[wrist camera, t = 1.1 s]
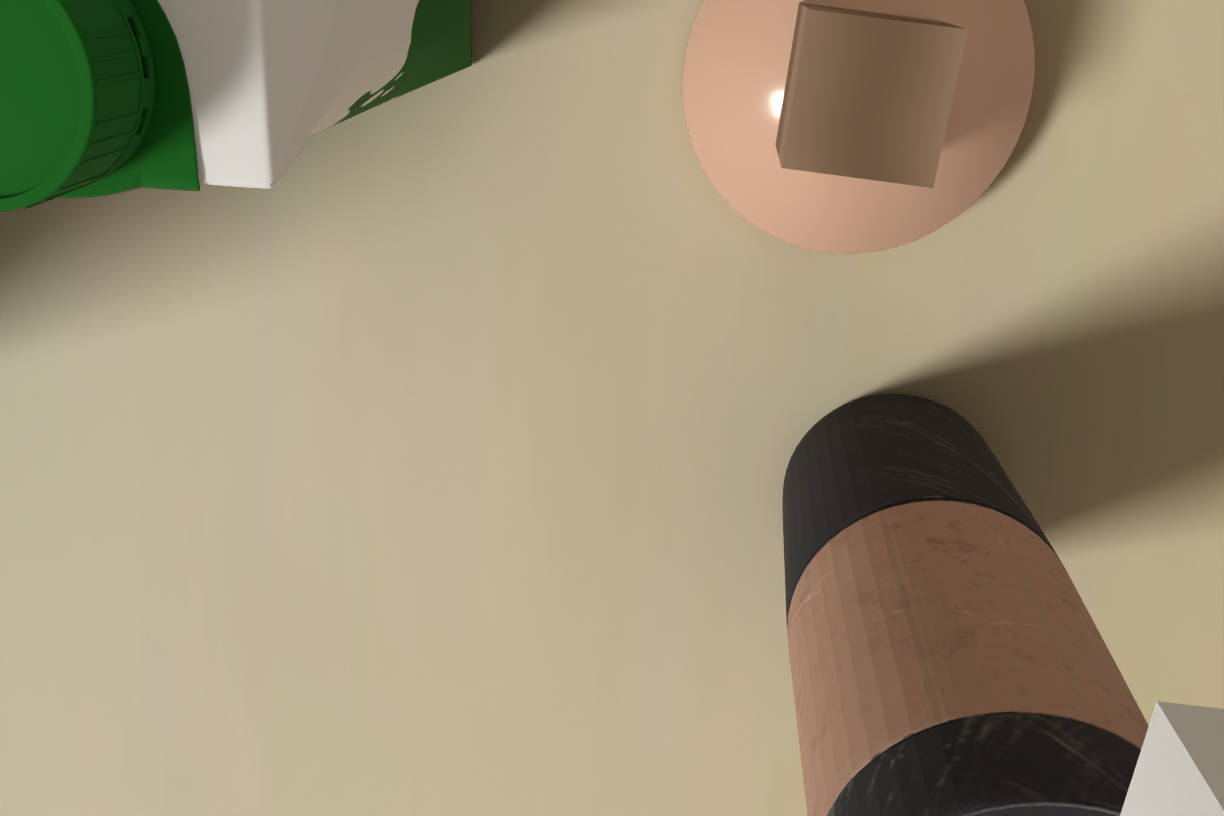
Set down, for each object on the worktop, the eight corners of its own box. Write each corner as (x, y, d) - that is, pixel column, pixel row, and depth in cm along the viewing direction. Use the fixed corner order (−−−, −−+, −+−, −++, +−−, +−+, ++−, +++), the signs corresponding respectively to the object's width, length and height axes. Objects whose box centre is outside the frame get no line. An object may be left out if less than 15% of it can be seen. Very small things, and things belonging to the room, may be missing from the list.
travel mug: (891, 338, 38) (1055, 715, 19) (1053, 487, 39) (1353, 973, 20) (727, 493, 40) (731, 961, 22) (885, 628, 42) (1016, 1176, 23)
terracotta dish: (626, 152, 36) (623, 158, 35) (788, -170, 33) (791, -174, 31) (906, 298, 37) (912, 310, 36) (1095, 2, 34) (1107, 3, 32)
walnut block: (775, 144, 35) (781, 168, 31) (799, 2, 33) (808, 9, 29) (910, 162, 34) (933, 188, 31) (940, 20, 33) (968, 29, 29)
